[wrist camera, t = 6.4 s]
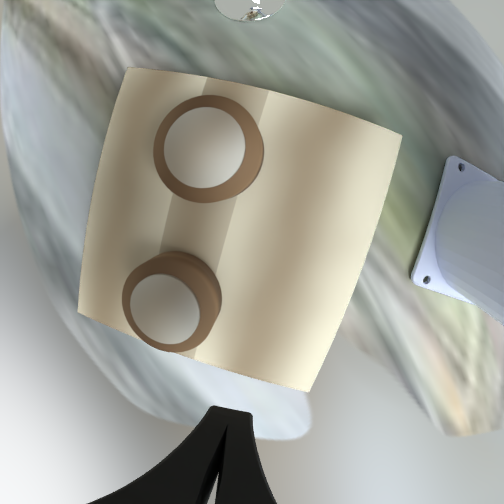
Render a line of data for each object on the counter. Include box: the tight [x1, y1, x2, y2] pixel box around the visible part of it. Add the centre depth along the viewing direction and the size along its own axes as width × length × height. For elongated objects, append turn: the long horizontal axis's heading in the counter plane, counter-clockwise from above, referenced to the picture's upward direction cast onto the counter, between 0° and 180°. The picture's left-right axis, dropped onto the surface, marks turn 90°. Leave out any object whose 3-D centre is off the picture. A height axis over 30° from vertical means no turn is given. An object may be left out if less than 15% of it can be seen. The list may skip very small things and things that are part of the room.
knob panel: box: [78, 67, 403, 392], centre depth 16 cm, size 14×14×3 cm
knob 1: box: [153, 95, 264, 203], centre depth 14 cm, size 4×4×5 cm
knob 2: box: [122, 251, 222, 352], centre depth 16 cm, size 4×4×5 cm
